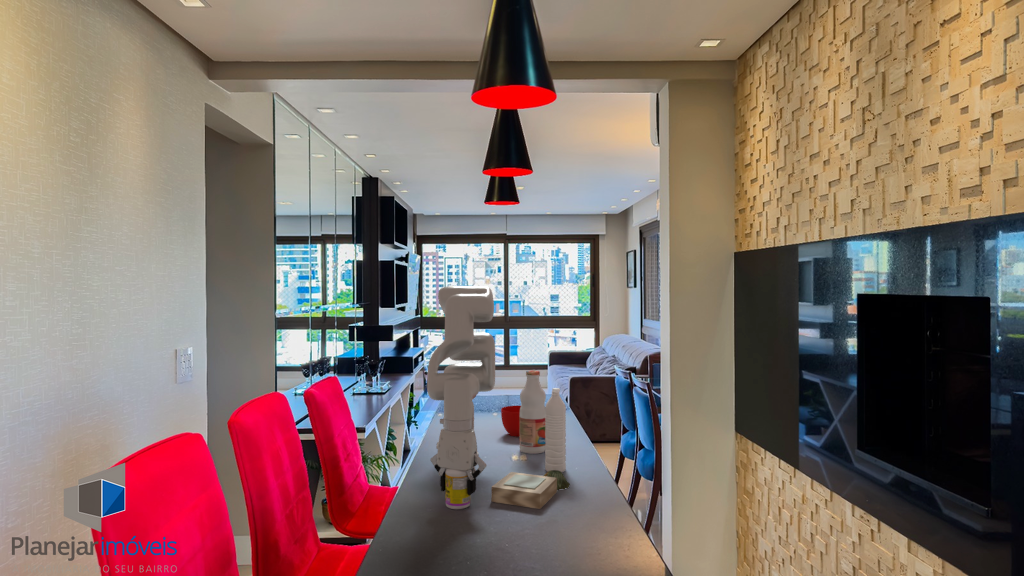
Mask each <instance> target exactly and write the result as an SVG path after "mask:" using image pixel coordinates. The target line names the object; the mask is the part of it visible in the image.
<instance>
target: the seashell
mask: <svg viewBox="0 0 1024 576" xmlns="http://www.w3.org/2000/svg"><path fill="white" fill-rule="evenodd" d="M542 476H547V477H555V478H557V491H560V490H559V489H564V490H566V489H565V488H567V489H569V488H570V487H569V485H570V486H571V484H570V483H569V481H568V480H567V478H566V477H565V475H564V473H563V472H561V471H558V470H551V471H547V472H546V473H544V474H543V475H542ZM568 487H569V488H568Z"/></svg>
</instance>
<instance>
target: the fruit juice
mask: <svg viewBox="0 0 1024 576" xmlns="http://www.w3.org/2000/svg"><path fill="white" fill-rule="evenodd" d="M525 376H526V381H525V385H524V388H523V389H522V390H521V392H520V395H519V400H520V404H521V405H520V406H521V407H520V436H519V451H520V452H521V453H525V454H528V455H529V454H533V455H537V454H542V453H544V452H545V450H546V449H545V444H546V443H545V438H546V437H545V430H546V429H545V427H546V426H545V422H546V421H545V417H546V416H545V414H546V413H545V406H546V400H547V397H546V395H547V394H546V392H545V390H544V388H543V387H542V386H541V382H540V376H541V371H540V370H534V369H533V370H531V369H530V370H526V372H525Z"/></svg>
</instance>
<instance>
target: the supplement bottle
mask: <svg viewBox="0 0 1024 576" xmlns="http://www.w3.org/2000/svg"><path fill="white" fill-rule="evenodd" d="M445 475H446V481H445V491H444V492H445V497H444V498H445V506H446V507H447V508H448V509H451V510H464V509H466V508H468V507H470V505H471V498H472V497H471V496H472V494H471V495H468V494H467V481H468V480H469V477H468V474H467V472H466V471H460V470H454V469H446V473H445Z"/></svg>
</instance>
